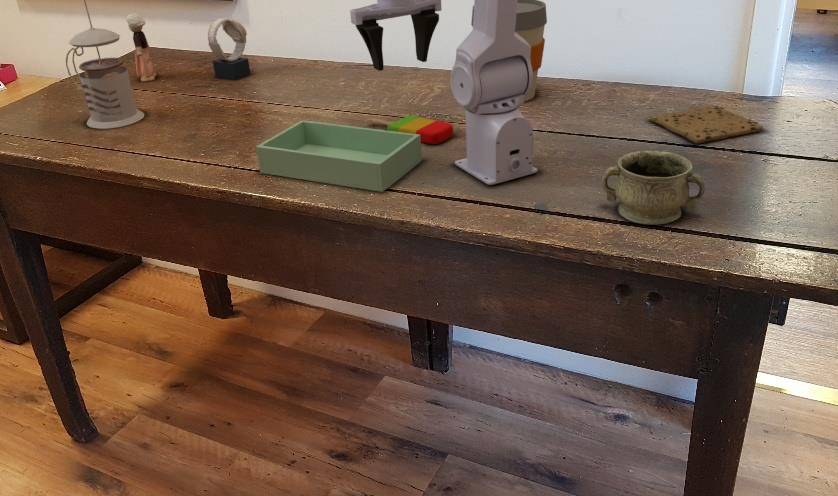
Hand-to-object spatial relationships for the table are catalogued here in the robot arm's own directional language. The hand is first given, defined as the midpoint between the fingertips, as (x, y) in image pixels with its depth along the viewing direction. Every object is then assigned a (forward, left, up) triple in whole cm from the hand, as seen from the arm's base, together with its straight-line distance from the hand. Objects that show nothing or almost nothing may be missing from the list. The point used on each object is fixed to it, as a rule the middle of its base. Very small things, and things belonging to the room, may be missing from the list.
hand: (400, 64), depth 126 cm
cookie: (-30, -36, -9) cm, 48 cm away
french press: (+33, +41, -10) cm, 54 cm away
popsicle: (-5, +2, -10) cm, 11 cm away
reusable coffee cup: (+1, -21, -10) cm, 23 cm away
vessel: (-48, -9, -10) cm, 50 cm away
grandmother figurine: (+55, +30, -10) cm, 63 cm away
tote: (-12, +16, -9) cm, 22 cm away
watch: (+46, +15, -10) cm, 49 cm away
